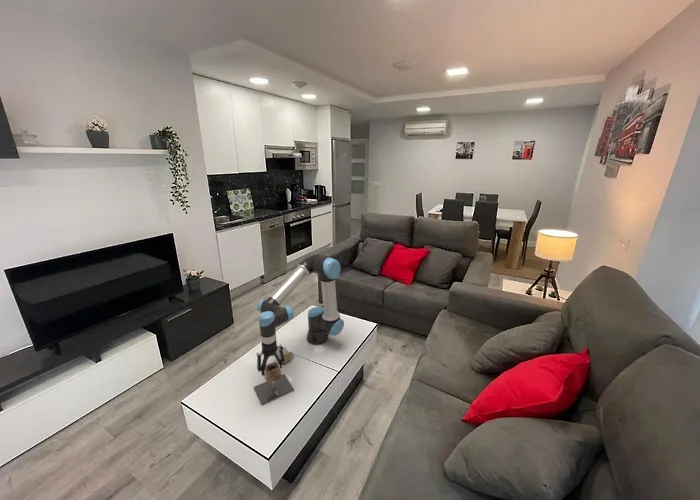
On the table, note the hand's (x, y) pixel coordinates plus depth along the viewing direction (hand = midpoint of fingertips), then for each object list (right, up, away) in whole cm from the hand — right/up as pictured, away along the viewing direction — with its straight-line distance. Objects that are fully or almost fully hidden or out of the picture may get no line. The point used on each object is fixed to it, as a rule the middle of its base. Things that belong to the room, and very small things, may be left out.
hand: (272, 376), depth 157 cm
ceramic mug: (+1, -1, +27) cm, 27 cm away
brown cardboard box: (0, 0, 0) cm, 0 cm away
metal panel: (0, -9, +3) cm, 9 cm away
